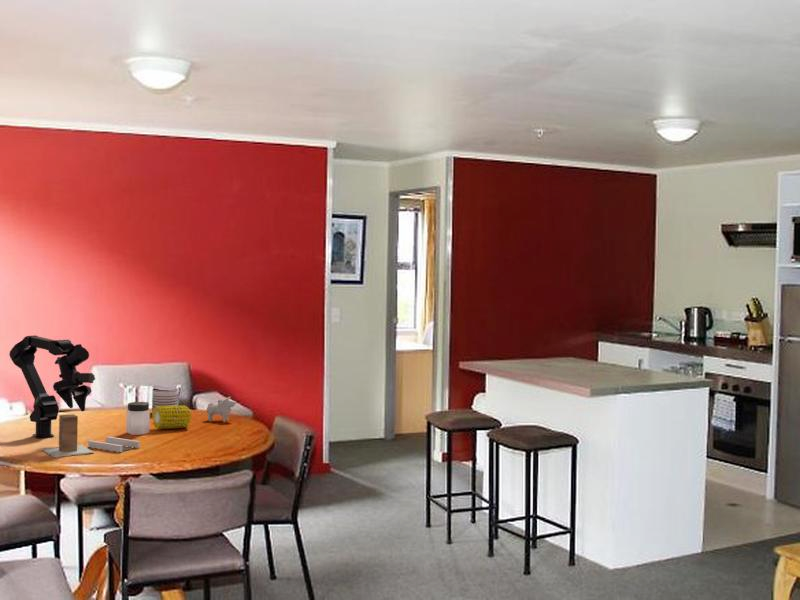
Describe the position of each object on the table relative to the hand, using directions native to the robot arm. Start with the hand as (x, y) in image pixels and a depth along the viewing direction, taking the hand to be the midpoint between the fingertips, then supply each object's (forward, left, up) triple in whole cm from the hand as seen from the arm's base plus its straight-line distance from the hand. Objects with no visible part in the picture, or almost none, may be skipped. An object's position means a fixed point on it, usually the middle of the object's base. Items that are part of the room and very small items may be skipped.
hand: (77, 409), depth 334 cm
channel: (+11, +10, -13) cm, 20 cm away
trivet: (+11, -6, -13) cm, 18 cm away
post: (+11, -6, -13) cm, 18 cm away
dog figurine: (-21, +69, -14) cm, 73 cm away
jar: (-11, +28, -13) cm, 33 cm away
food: (-13, +43, -14) cm, 47 cm away
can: (-50, +55, -14) cm, 75 cm away
